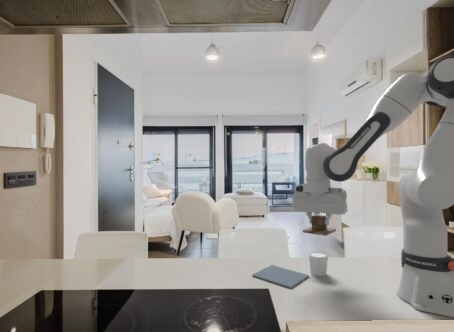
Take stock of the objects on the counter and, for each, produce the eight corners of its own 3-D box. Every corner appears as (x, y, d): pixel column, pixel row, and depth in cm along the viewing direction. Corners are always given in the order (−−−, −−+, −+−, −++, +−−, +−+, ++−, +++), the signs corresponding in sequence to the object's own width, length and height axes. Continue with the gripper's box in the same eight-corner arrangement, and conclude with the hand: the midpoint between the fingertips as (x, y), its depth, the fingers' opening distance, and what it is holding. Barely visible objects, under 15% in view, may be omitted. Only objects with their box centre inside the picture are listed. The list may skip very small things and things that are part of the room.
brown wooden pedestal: (336, 230, 109) (335, 215, 109) (325, 235, 102) (325, 219, 102) (313, 227, 115) (313, 213, 115) (302, 232, 108) (302, 216, 108)
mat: (309, 276, 106) (309, 275, 106) (291, 288, 96) (291, 287, 96) (272, 266, 116) (272, 265, 116) (252, 276, 107) (252, 274, 107)
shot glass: (305, 271, 111) (304, 253, 110) (318, 268, 114) (318, 250, 113) (317, 278, 104) (317, 258, 104) (332, 274, 107) (332, 256, 107)
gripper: (349, 187, 104) (350, 226, 104) (297, 185, 117) (298, 220, 118) (343, 189, 99) (344, 229, 99) (289, 187, 113) (290, 222, 113)
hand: (319, 224), depth 108 cm, fingers closed on brown wooden pedestal, 4 cm apart
